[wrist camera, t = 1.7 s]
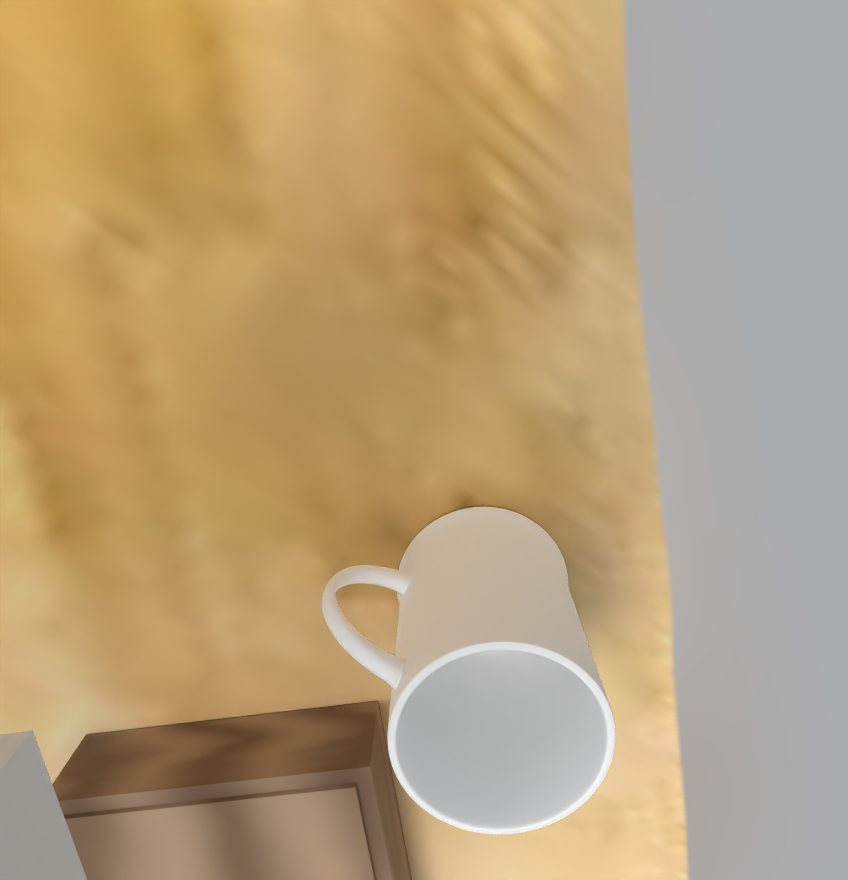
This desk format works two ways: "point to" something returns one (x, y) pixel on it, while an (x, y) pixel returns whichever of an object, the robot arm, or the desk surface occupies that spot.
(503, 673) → the mug
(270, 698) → the desk surface
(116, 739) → the tray
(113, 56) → the desk surface
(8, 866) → the robot arm
